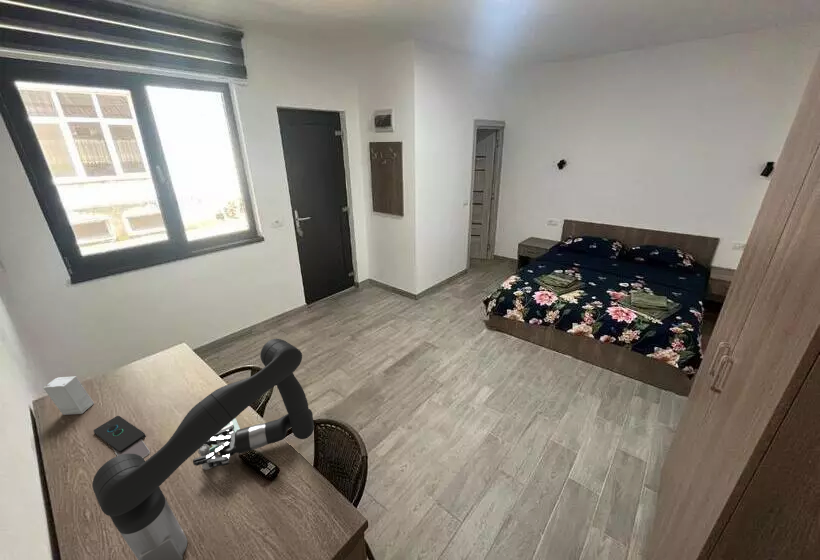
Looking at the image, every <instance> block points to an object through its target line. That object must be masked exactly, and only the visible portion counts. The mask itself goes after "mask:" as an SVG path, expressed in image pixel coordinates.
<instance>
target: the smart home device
mask: <svg viewBox="0 0 820 560" xmlns="http://www.w3.org/2000/svg"><path fill="white" fill-rule="evenodd" d="M93 432H94V435H96V436H97V437H98V438H100V439H101V440H102V441H104V442H105V443H106V444H107V445H109V446H110V447H111V448H112V449H113V450H114V449H115V450H117V451H118V452H123V451H125V450H126V449H128V448H129V447H130V446H132V445H133V444H135V443H136V442H138V441H139V440H141V439H142V440H143V439H145V438H146V433H145V432H144V431H142V430H141V429H139V428H138V427H136V426H135V425H133V424H132V423H131V422H129V421H128V420H126V419H124V418H123V417H121V416H120V415H116V416H114V417H112V418H111V419H110V420H108V421H106V422H104V423H103V424H101V425H99V426H98V427H96V428H94V429H93Z"/></svg>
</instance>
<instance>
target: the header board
mask: <svg viewBox="0 0 820 560" xmlns="http://www.w3.org/2000/svg"><path fill="white" fill-rule="evenodd" d="M230 426H233V429H234V432H236V431H237V430H239V429H241V428H240V425H239V423H238V421H237V417H236V418H235V419H233V420H232V421H231V422H230V423H229V424H228V425H226V426H225V427H224V428H223V429H225V428H228V427H230ZM223 429H222V430H223ZM219 435H222V434H219ZM219 435H218V436H219ZM218 447H219V446H218V445H211V446H210V448H209V449H210V453H212V452H214V450H215V449H217V448H218Z"/></svg>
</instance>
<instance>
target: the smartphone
mask: <svg viewBox="0 0 820 560" xmlns="http://www.w3.org/2000/svg"><path fill="white" fill-rule="evenodd" d="M113 452H114V453H115V455H116V456H119V455H122V454H137V455H139V456H141V457H142V458H143V459H144V458H146V457H148V456H149V455H150V454H151V451H150V449H149V448H148V446H147V445H146V444H145V442H144V441H143V439H141V440H139V441H138V442H136V443H135V444H133V445H132V446H130V447H129V448H128V449H126V450H125V451H123V452H118V451H117V450H115V449H113Z"/></svg>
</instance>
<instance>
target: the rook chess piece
mask: <svg viewBox="0 0 820 560" xmlns="http://www.w3.org/2000/svg"><path fill="white" fill-rule="evenodd" d="M209 448H210V446H209V445H207V444H206V445H205V444H204V445H203V446H201V448H199V449H198V450H197V452H198V454H199V455H200V457H202V456H205V455H206V456H207V455H209V454H211V453H212V452H210V449H209ZM214 456H215V455H214ZM214 456H213V457H214ZM213 457H211V458H213ZM214 463H215V462H214ZM201 468H202V470H211V469H212V468H214V467H211V468H210V467H209V465H208V463H205V464H201Z"/></svg>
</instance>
